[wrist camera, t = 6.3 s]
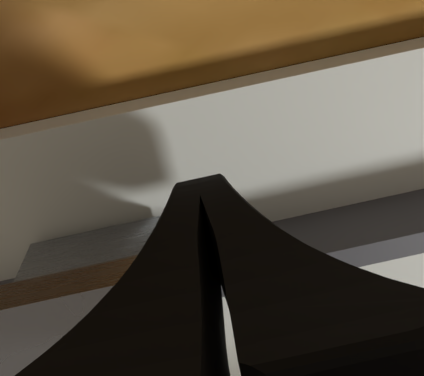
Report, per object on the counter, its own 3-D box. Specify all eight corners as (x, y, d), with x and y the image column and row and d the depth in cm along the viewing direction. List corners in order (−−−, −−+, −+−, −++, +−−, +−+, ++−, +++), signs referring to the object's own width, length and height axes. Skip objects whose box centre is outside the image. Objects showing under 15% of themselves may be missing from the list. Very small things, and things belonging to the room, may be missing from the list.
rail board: (507, 322, 19) (563, 381, 16) (47, 423, 19) (29, 498, 16) (599, -2, 12) (724, 10, 9) (-142, 159, 12) (-228, 217, 9)
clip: (192, 321, 15) (204, 461, 11) (84, 345, 15) (55, 493, 11) (148, 180, 12) (142, 301, 8) (13, 210, 12) (-67, 346, 7)
